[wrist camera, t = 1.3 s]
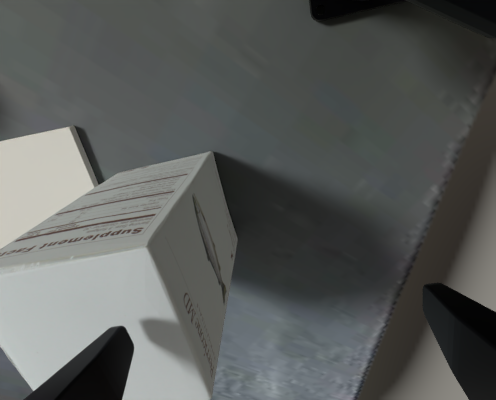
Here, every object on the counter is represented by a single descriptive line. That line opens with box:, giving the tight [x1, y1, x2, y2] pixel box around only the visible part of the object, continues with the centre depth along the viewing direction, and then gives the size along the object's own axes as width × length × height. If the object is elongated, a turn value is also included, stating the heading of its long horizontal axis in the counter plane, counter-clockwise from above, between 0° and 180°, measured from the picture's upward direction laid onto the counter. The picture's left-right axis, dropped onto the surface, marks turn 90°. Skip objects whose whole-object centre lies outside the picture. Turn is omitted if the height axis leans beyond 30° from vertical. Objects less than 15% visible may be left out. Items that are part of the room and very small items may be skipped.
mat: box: [0, 126, 99, 249], centre depth 23 cm, size 11×14×1 cm
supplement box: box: [0, 151, 238, 400], centre depth 16 cm, size 7×7×13 cm
